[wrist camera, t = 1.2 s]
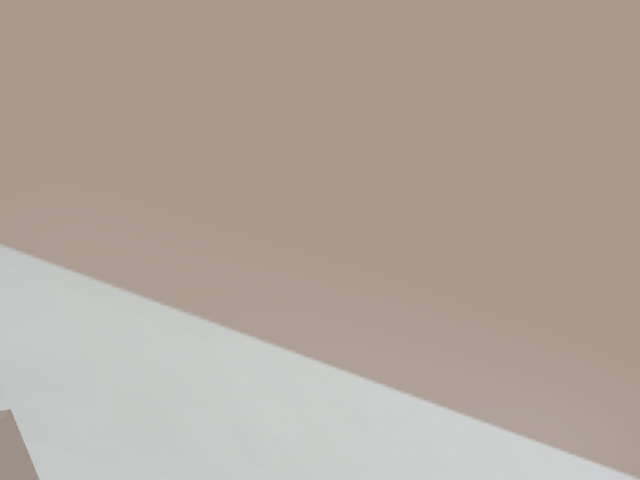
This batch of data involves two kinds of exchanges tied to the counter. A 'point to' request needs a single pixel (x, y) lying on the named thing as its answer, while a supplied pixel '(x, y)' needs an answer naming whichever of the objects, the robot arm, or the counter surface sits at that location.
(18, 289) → the counter surface
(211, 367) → the counter surface
